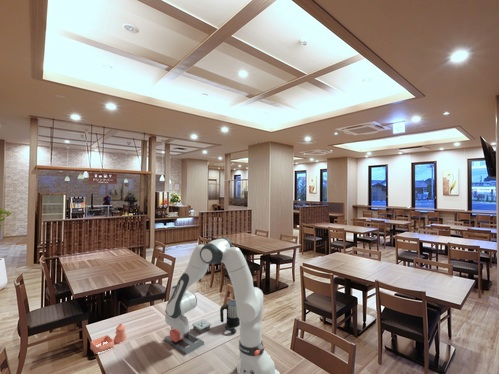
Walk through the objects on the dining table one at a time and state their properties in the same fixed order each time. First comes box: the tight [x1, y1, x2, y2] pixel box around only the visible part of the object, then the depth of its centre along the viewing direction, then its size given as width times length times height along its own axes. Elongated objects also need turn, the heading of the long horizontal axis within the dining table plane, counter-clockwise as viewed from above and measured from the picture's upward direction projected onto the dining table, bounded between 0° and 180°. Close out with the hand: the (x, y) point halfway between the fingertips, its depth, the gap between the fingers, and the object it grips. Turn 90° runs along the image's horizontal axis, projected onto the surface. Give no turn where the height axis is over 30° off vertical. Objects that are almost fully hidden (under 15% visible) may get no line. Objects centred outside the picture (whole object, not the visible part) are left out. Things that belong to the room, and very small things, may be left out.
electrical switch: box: [191, 319, 212, 335], centre depth 169 cm, size 9×5×9 cm
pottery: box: [90, 323, 127, 354], centre depth 152 cm, size 18×10×10 cm, turn 140°
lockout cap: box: [169, 329, 184, 342], centre depth 154 cm, size 6×6×5 cm
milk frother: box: [219, 299, 241, 333], centre depth 172 cm, size 14×16×15 cm
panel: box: [163, 332, 205, 355], centre depth 155 cm, size 22×13×2 cm, turn 50°
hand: (176, 335), depth 154 cm, fingers closed on lockout cap, 6 cm apart
